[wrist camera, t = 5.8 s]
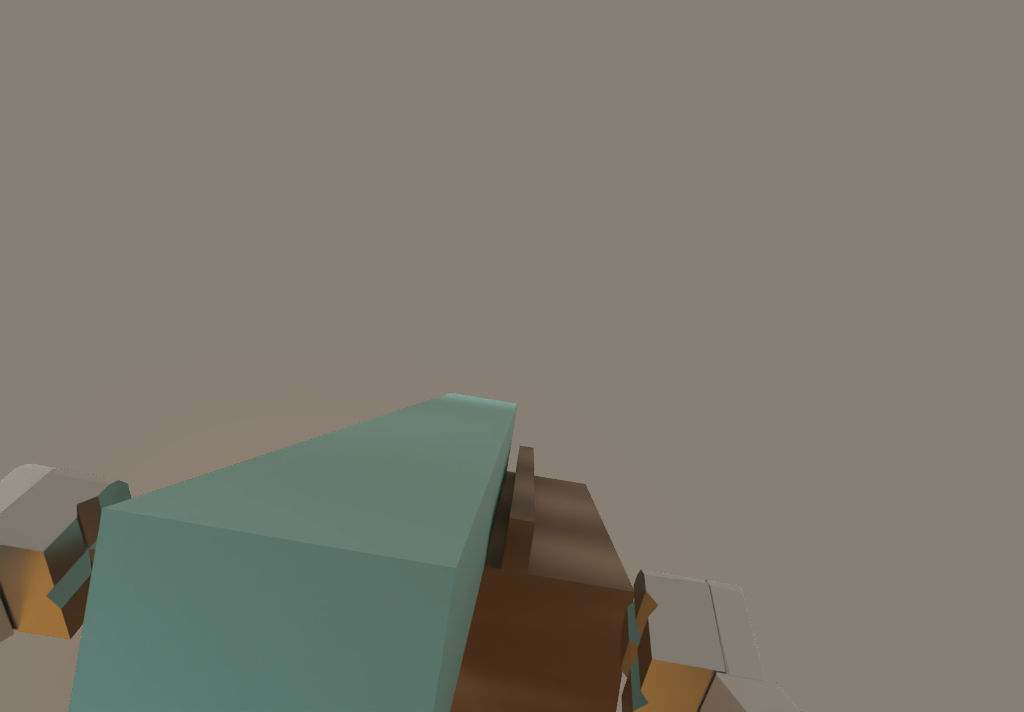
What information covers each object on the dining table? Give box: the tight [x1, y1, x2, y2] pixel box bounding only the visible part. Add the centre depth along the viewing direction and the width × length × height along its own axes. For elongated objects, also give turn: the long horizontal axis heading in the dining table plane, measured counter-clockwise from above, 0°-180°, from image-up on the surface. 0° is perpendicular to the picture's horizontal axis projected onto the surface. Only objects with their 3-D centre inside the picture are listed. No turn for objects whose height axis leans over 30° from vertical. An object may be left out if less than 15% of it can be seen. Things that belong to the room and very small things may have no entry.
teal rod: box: [69, 393, 517, 712], centre depth 17 cm, size 24×3×3 cm, turn 178°
